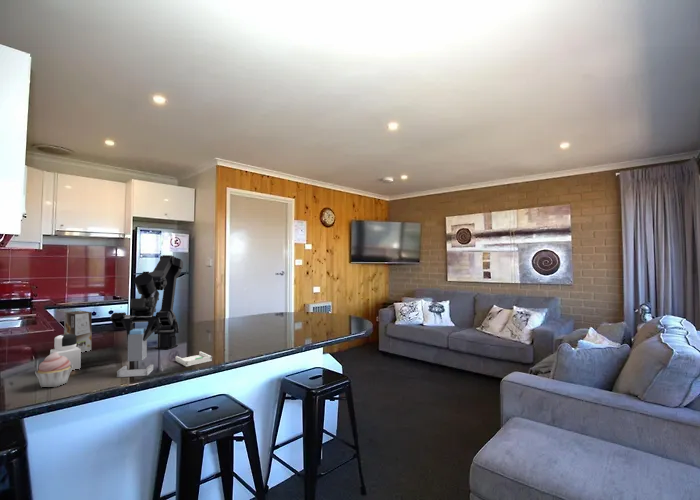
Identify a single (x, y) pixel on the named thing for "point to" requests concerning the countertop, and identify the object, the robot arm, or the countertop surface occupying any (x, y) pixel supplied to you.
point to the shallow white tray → (134, 371)
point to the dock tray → (194, 359)
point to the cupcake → (54, 370)
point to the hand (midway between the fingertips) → (136, 340)
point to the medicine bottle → (68, 349)
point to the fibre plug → (137, 345)
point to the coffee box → (79, 328)
